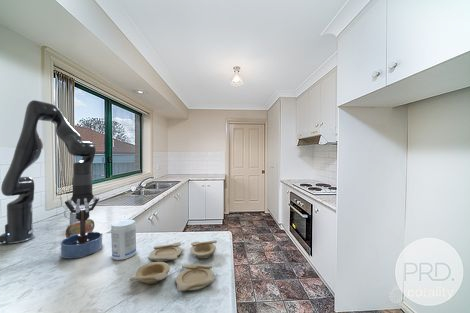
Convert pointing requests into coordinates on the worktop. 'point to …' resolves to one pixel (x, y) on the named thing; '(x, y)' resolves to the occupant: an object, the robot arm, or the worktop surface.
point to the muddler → (82, 229)
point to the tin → (75, 228)
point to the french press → (72, 215)
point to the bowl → (81, 245)
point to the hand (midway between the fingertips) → (82, 219)
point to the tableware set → (187, 278)
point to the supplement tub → (123, 239)
